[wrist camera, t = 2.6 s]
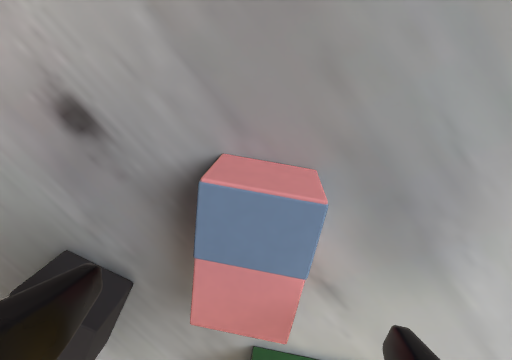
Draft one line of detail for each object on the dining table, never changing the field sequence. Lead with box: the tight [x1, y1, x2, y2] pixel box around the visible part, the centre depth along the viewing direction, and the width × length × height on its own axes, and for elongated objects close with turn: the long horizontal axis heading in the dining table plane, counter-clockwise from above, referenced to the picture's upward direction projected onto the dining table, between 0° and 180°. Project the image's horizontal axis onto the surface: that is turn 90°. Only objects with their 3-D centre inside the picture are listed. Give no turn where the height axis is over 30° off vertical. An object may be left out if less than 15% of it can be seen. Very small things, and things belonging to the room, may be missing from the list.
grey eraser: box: [9, 250, 133, 360], centre depth 13 cm, size 6×4×3 cm
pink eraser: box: [190, 154, 328, 344], centre depth 10 cm, size 6×4×3 cm, turn 172°
